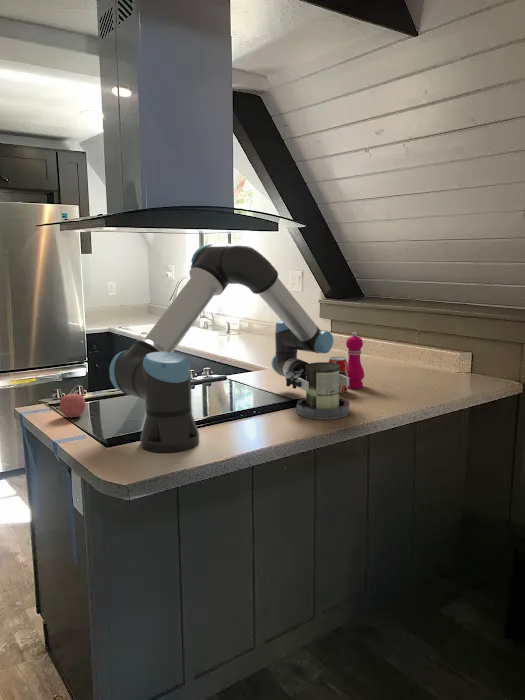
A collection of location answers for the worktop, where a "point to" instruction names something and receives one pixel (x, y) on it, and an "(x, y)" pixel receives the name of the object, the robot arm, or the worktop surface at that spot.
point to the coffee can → (322, 385)
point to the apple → (72, 405)
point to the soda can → (341, 369)
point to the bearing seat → (323, 411)
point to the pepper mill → (355, 361)
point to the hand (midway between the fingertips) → (328, 384)
